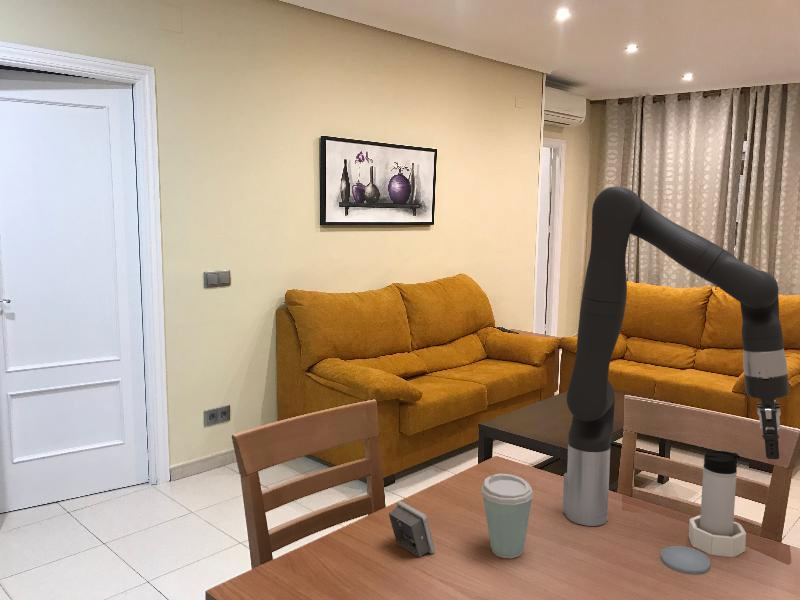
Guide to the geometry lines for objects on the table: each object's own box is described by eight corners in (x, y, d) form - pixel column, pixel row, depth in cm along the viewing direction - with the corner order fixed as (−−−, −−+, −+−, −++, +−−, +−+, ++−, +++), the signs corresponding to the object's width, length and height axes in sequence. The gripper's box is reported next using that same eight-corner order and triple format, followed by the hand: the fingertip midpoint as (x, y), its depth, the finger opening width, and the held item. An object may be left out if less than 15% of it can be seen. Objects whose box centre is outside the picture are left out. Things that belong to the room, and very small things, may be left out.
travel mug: (737, 553, 132) (743, 459, 129) (703, 549, 133) (708, 457, 131) (728, 538, 138) (734, 449, 135) (695, 535, 139) (700, 446, 137)
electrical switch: (436, 553, 132) (433, 512, 130) (416, 564, 129) (413, 521, 127) (407, 536, 139) (404, 496, 137) (389, 545, 136) (385, 505, 134)
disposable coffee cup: (543, 553, 132) (545, 484, 130) (506, 571, 125) (508, 498, 123) (505, 533, 140) (506, 468, 138) (469, 549, 133) (470, 480, 132)
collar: (679, 540, 137) (680, 522, 137) (708, 528, 142) (709, 511, 142) (724, 561, 129) (725, 542, 128) (753, 547, 134) (754, 529, 133)
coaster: (651, 557, 130) (651, 553, 130) (679, 546, 135) (679, 541, 134) (691, 579, 122) (692, 574, 122) (719, 565, 127) (719, 561, 127)
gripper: (744, 365, 134) (752, 440, 135) (742, 379, 122) (750, 462, 123) (786, 364, 131) (793, 441, 132) (788, 379, 118) (796, 464, 119)
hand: (772, 451), depth 127 cm, fingers open, 8 cm apart
